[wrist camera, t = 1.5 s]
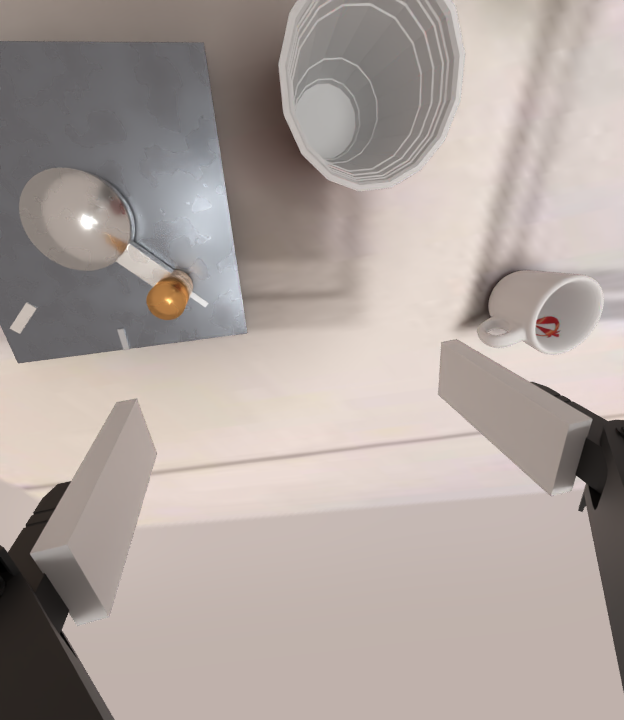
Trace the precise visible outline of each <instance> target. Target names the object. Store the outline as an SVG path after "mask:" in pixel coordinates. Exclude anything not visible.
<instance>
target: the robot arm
mask: <svg viewBox="0 0 624 720" xmlns="http://www.w3.org/2000/svg"><path fill="white" fill-rule="evenodd" d="M438 395H439V396H440V397H441V398H442V399H444V400H445V401H446V402H447V403H448V404H449V405H450V406H451V407H452V408H454V409H455V410H456V411H457V412H458V413H459V414H460V415H461V416H462V417H463V418H465V419H466V420H467V421H468V422H469V423H470V424H471V425H472V426H473V427H475V428H476V429H477V430H478V431H479V432H480V433H481V434H482V435H483V436H485V437H486V438H487V439H488V440H489V441H490V442H491V443H492V444H493V445H495V446H496V447H497V448H498V449H499V450H500V451H501V452H502V453H503V454H504V455H506V456H507V457H508V458H509V459H510V460H511V461H512V462H513V463H514V464H516V465H517V466H518V467H519V468H520V469H521V470H522V471H523V472H524V473H526V474H527V475H528V476H529V477H530V478H531V479H532V480H533V481H534V482H536V483H537V484H538V485H539V486H540V487H541V488H542V489H543V490H544V491H545V492H547V493H548V494H549V495H550V496H554V495H557V494H561V493H565V492H569V491H572V488H573V485H574V481H575V478H576V476H578V477H579V478H580V479H582V480H583V481H584V482H585V483H586V485H585V489H584V492H583V495H582V498H581V502H580V505H579V511H581V512H582V511H583V510H584V507H585V506H587V511H588V516H589V521H590V526H591V531H592V536H593V541H594V545H595V551H596V556H597V561H598V566H599V571H600V576H601V581H602V585H603V590H604V595H605V600H606V606H607V611H608V616H609V620H610V625H611V630H612V636H613V641H614V645H615V651H616V656H617V661H618V665H619V670H620V676H621V680H622V686H623V690H624V420H612V421H607V420H605V419H603V418H601V417H600V416H598V415H596V414H594V413H592V412H591V411H589V410H587V409H585V408H584V407H582V406H580V405H578V404H577V403H575V402H571V401H570V399H568V398H566V397H564V396H560V394H559V393H557V392H556V391H554V390H552V389H550V388H549V387H546V386H543V385H540V384H537V383H534V382H529V381H527V380H525V379H524V378H522V377H520V376H519V375H517V374H515V373H513V372H512V371H510V370H508V369H507V368H505V367H503V366H501V365H500V364H498V363H496V362H495V361H493V360H491V359H490V358H488V357H486V356H484V355H483V354H481V353H479V352H478V351H476V350H474V349H472V348H471V347H469V346H467V345H466V344H464V343H462V342H460V341H459V340H457V339H456V340H450V341H445V342H441V356H440V372H439V388H438ZM156 455H157V452H156V450H155V447H154V444H153V441H152V439H151V436H150V433H149V430H148V428H147V425H146V422H145V419H144V416H143V414H142V411H141V408H140V405H139V403H138V400H137V399H132V400H127V401H121V402H116V404H115V406H114V408H113V409H112V411H111V413H110V415H109V416H108V418H107V420H106V422H105V423H104V425H103V427H102V429H101V430H100V432H99V434H98V435H97V437H96V439H95V441H94V442H93V444H92V446H91V448H90V449H89V451H88V453H87V455H86V456H85V458H84V460H83V462H82V463H81V465H80V467H79V469H78V470H77V472H76V474H75V476H74V477H73V479H72V481H70V482H65V483H61V484H57V485H56V486H55V487H54V488H53V489H52V490H51V491H50V492H49V493H48V494H47V495H46V496H44V497H43V498H42V500H41V502H40V503H39V505H38V506H37V508H36V509H35V511H34V512H33V513H34V515H32V516H31V517H30V519H29V520H28V522H27V523H26V528H23V530H22V531H21V533H20V534H19V536H18V538H17V539H16V541H15V542H14V544H13V545H12V547H11V549H10V550H9V552H8V553H7V551H6V550H5V549H4V547H2V546H1V545H0V720H114V718H113V716H112V715H111V713H110V711H109V709H108V708H107V706H106V704H105V703H104V701H103V699H102V697H101V696H100V694H99V692H98V691H97V689H96V687H95V685H94V684H93V682H92V681H91V679H90V677H89V675H88V673H87V672H86V670H85V668H84V667H83V665H82V663H81V661H80V660H79V658H78V656H77V654H76V653H75V651H74V649H73V648H72V646H71V644H70V642H69V641H68V639H67V637H66V636H65V634H64V633H63V632H62V628H63V625H64V622H65V620H66V617H67V615H68V612H69V613H70V615H71V617H72V618H73V620H74V621H75V623H76V624H77V626H79V625H82V624H86V623H90V622H93V621H97V620H101V619H104V618H108V617H109V616H110V613H111V610H112V606H113V603H114V599H115V596H116V592H117V589H118V586H119V582H120V579H121V575H122V572H123V568H124V565H125V562H126V558H127V555H128V551H129V548H130V544H131V541H132V538H133V534H134V531H135V527H136V524H137V520H138V517H139V514H140V510H141V507H142V503H143V500H144V496H145V493H146V490H147V486H148V483H149V479H150V476H151V472H152V469H153V466H154V462H155V459H156Z"/></svg>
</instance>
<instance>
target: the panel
mask: <svg viewBox="0 0 624 720" xmlns="http://www.w3.org/2000/svg"><path fill="white" fill-rule="evenodd" d="M51 168H71V169H76V170H80V171H85V172H88V173H92V174H94V175H97V176H99V177H101V178H102V179H104V180H106V181H107V182H109V183H110V184H111V185H113V186H114V187H115V188H116V189H117V190H118V191H119V192H120V193H121V194H122V196H123V197H124V198H125V200H126V201H127V203H128V205H129V207H130V209H131V211H132V214H133V217H134V222H135V236H134V242H135V243H137V244H138V245H140V246H141V247H142V248H144V249H145V250H147V251H148V252H149V253H151V254H152V255H153V256H155V257H156V258H158V259H159V260H160V261H162V262H163V263H165V264H166V265H167V266H169V267H170V268H172V269H173V270H180V271H183V272H185V273H186V274H187V275H188V276H189V277H190V278H191V280H192V282H193V291H192V293H191V295H190V298H189V300H188V302H187V305H186V307H185V309H184V311H183V313H182V314H181V315H180V316H179V317H178V318H176V319H173V320H163V319H160V318H158V317H156V316H154V315H153V314H152V313H151V312H150V310H149V309H148V306H147V302H146V299H147V295H148V293H149V291H150V290H151V289H152V288H153V286H151V285H150V284H148V283H147V282H145V281H144V280H142V279H141V278H140V277H138V276H137V275H135V274H134V273H132V272H131V271H129V270H128V269H126V268H125V267H123V266H122V265H120V264H119V263H117V262H115V263H113V264H111V265H109V266H107V267H105V268H102V269H98V270H92V271H82V270H75V269H71V268H67V267H64V266H62V265H60V264H58V263H56V262H54V261H52V260H51V259H49V258H48V257H46V256H45V255H44V254H43V253H42V252H40V251H39V250H38V249H37V248H36V246H35V245H34V244H33V243H32V242H31V240H30V239H29V237H28V236H27V234H26V232H25V230H24V228H23V225H22V222H21V219H20V213H19V202H20V196H21V193H22V191H23V189H24V186H25V185H26V184H27V182H28V181H29V180H30V179H31V178H32V177H33V176H35V175H36V174H38V173H40V172H42V171H44V170H47V169H51ZM0 325H1V327H2V330H3V332H4V334H5V336H6V338H7V340H8V343H9V345H10V347H11V349H12V351H13V353H14V356H15V358H16V360H17V362H18V363H25V362H32V361H40V360H48V359H55V358H63V357H70V356H78V355H86V354H93V353H101V352H108V351H116V350H129V349H131V348H139V347H146V346H154V345H161V344H169V343H177V342H184V341H192V340H199V339H207V338H215V337H222V336H230V335H237V334H245V333H247V327H246V321H245V314H244V307H243V301H242V294H241V287H240V281H239V274H238V267H237V261H236V254H235V247H234V241H233V234H232V228H231V221H230V214H229V208H228V201H227V194H226V188H225V181H224V174H223V168H222V161H221V154H220V148H219V141H218V134H217V128H216V121H215V114H214V108H213V101H212V94H211V88H210V81H209V74H208V68H207V61H206V54H205V48H204V43H183V42H37V41H0Z"/></svg>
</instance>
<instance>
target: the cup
mask: <svg viewBox="0 0 624 720" xmlns="http://www.w3.org/2000/svg"><path fill="white" fill-rule="evenodd" d="M603 305H604V296H603V291H602V289H601V286H600V285H599V283H598V282H597V281H596V280H595V279H593V278H591V277H589V276H586V275H581V274H569V273H556V272H544V271H529V270H525V271H517V272H514V273H511V274H509V275H507V276H505V277H504V278H503V279H501V280H500V281H499V282H498V283H497V285H496V286H495V287H494V289H493V291H492V293H491V295H490V298H489V304H488V308H489V313H490V316H491V318H489V319H487V320H486V321H484V322H482V323H481V324H480V325H479V326H478V329H477V333H478V336H479V338H480V340H481V341H482V342H483V343H485V344H486V345H488V346H491V347H494V348H504V347H508V346H511V345H514V344H516V343H518V342H520V341H523V342H525V343H526V344H528V345H530V346H531V347H533V348H534V349H536V350H538V351H540V352H542V353H545V354H550V355H556V354H562V353H565V352H567V351H570V350H572V349H574V348H575V347H577V346H578V345H579V344H581V343H582V342H583V341H584V340H585V339H586V338H587V337H588V336H589V335H590V334H591V332H592V331H593V330H594V328H595V327H596V325H597V323H598V321H599V319H600V316H601V314H602V310H603ZM494 329H503V330H506V331H507V333H505V334H502V335H491V334H488V332H489V331H491V330H494Z"/></svg>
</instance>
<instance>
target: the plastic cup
mask: <svg viewBox="0 0 624 720" xmlns="http://www.w3.org/2000/svg"><path fill="white" fill-rule="evenodd" d="M464 62H465V50H464V45H463V39H462V34H461V29H460V24H459V19H458V14H457V8H456V6H455V4H454V3H453V1H452V0H297V2H296V3H295V5H294V6H293V8H292V10H291V11H290V13H289V17H288V21H287V26H286V31H285V35H284V40H283V45H282V50H281V54H280V59H279V64H278V67H279V76H280V86H281V96H282V106H283V114H284V117H285V119H286V121H287V123H288V125H289V128H290V130H291V132H292V134H293V137H294V139H295V141H296V143H297V145H298V148H299V150H300V152H301V154H302V155H303V156H304V157H305V158H306V159H307V160H308V161H309V162H310V163H311V164H312V165H313V166H314V167H315V168H316V169H317V170H318V171H319V172H320V173H321V174H322V175H323V176H324V177H325V178H326V179H327V180H329V181H332V182H334V183H337V184H340V185H343V186H345V187H348V188H351V189H354V190H356V191H367V190H376V189H385V188H391V187H393V186H395V185H397V184H398V183H400V182H402V181H403V180H405V179H407V178H408V177H410V176H412V175H413V174H415V173H417V172H419V171H420V170H421V169H422V168H423V167H424V165H425V164H426V163H427V162H428V160H429V159H430V158H431V157H432V155H433V154H434V153H435V152H436V151H437V149H438V148H439V147H440V146H441V144H442V143H443V142H444V141H445V138H446V136H447V133H448V131H449V128H450V126H451V123H452V121H453V118H454V116H455V113H456V111H457V108H458V106H459V103H460V101H461V92H462V82H463V72H464Z"/></svg>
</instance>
